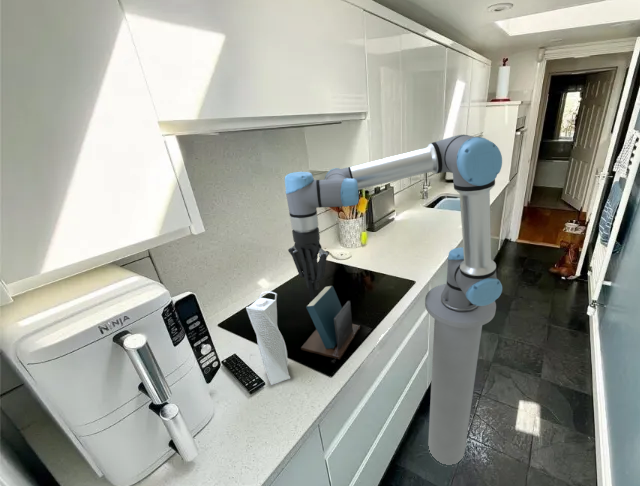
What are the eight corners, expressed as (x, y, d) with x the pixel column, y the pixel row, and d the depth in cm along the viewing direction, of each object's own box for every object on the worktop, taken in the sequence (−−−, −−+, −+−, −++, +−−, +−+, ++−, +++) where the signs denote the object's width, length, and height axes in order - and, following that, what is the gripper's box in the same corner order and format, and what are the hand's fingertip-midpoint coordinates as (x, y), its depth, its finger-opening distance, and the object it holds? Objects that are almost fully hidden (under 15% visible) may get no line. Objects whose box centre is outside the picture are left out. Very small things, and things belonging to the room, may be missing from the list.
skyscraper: (291, 362, 95) (274, 284, 83) (296, 379, 89) (278, 298, 77) (264, 371, 92) (242, 293, 80) (268, 389, 86) (244, 307, 74)
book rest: (360, 327, 109) (357, 296, 103) (339, 359, 95) (335, 326, 90) (325, 320, 113) (321, 290, 108) (301, 349, 100) (294, 317, 94)
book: (349, 325, 107) (332, 285, 102) (333, 348, 97) (313, 305, 92) (342, 325, 109) (325, 286, 103) (325, 348, 99) (305, 306, 93)
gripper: (331, 226, 89) (338, 294, 100) (293, 221, 93) (303, 287, 104) (318, 235, 83) (326, 307, 94) (278, 230, 87) (290, 299, 98)
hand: (314, 296), depth 99 cm, fingers closed
